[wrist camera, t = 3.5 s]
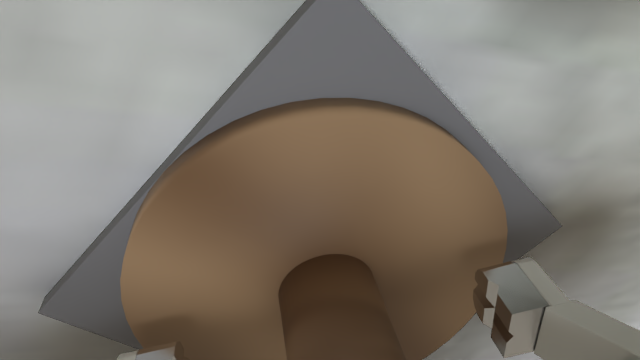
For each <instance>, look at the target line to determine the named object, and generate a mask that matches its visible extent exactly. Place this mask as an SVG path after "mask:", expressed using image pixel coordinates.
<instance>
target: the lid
mask: <svg viewBox="0 0 640 360" xmlns="http://www.w3.org/2000/svg"><path fill="white" fill-rule="evenodd" d="M507 232H508V229H507V219H506V211H505V208H504V205H503V201H502V198H501V195H500V193H499V191H498V189H497V187H496V185H495V183H494V181H493V179H492V178H491V176H490V175H489V174H488V172H487V171H486V170H485V169H484V167H483V166H482V165H481V164H480V162H479V161H478V160H477V159H476V158H475V157H474V156H473V155H472V154H471V153H470V152H469V151H468V150H467V149H466V147H465V146H464V145H463V144H462V143H461V142H459V141H458V140H457V139H456V138H455V137H454V136H453V135H452V134H450V133H449V132H448V131H447V130H446V129H444V128H443V127H441V126H439V125H438V124H436V123H435V122H433V121H431V120H430V119H428V118H427V117H424V116H422V115H420V114H417V113H415V112H413V111H410V110H408V109H405V108H403V107H399V106H395V105H391V104H387V103H384V102H380V101H373V100H365V99H357V98H318V99H310V100H303V101H295V102H289V103H286V104H282V105H278V106H274V107H270V108H266V109H263V110H260V111H257V112H255V113H252V114H250V115H247V116H244V117H242V118H239V119H237V120H234V121H232V122H230V123H229V124H227V125H225V126H223V127H221V128H219V129H218V130H216V131H214V132H212V133H210V134H208V135H207V136H205V137H204V138H203V139H201V140H200V141H198V142H197V143H196V144H194V145H193V146H192V147H190V148H189V149H188V150H186V151H185V152H183V153H182V154H181V155H180V156H179V157H178V158H177V159H176V160H175V161H174V162H173V163H172V164H171V165H170V166H169V167H168V168H167V169H166V170H165V171H164V172H163V173H162V175H161V176H160V177H159V179H158V180H157V181H156V182H155V184H154V185H153V186H152V188H151V189H150V190H149V192H148V193H147V195H146V197H145V199H144V201H143V203H142V204H141V206H140V208H139V210H138V212H137V215H136V218H135V220H134V223H133V226H132V229H131V232H130V236H129V240H128V243H127V247H126V251H125V255H124V258H123V264H122V271H121V278H120V286H121V301H122V305H123V309H124V312H125V316H126V320H127V322H128V324H129V326H130V328H131V330H132V332H133V334H134V336H135V337H136V339H137V340H138V341H139V343H140V344H141V345H142V347H143V348H149V347H154V346H159V345H163V344H168V343H173V342H178V341H180V342H181V344H182V346H183V347H184V357H187V358H189V359H190V360H422V359H424V358H425V357H427V356H428V355H430V354H431V353H433V352H434V351H436V350H437V349H438V348H439V347H441V346H442V345H443V344H445V343H446V342H447V341H448V340H450V339H451V338H452V337H453V336H454V335H455V334H456V333H457V332H458V331H459V330H460V329H462V328H463V327H464V326H465V324H466V323H467V322H468V321H469V320H470V319H471V318H472V317H473V315H474V314H475V313H476V309H475V306H474V302H473V290H474V289H475V288H476V286H477V285H478V284H477V282H476V281H475V272H476V271H477V270H478V269H481V268H485V267H489V266H493V265H497V264H501V263H503V260H504V255H505V251H506V245H507Z"/></svg>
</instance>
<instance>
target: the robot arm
mask: <svg viewBox="0 0 640 360" xmlns="http://www.w3.org/2000/svg"><path fill="white" fill-rule="evenodd" d="M475 281H476V282H477V284H478V285H477V286H476V288H475V289H474V290H473V302H474V306H475V309H476V312H477V314H478V316H479V318H480V320H481V321H482V323H483V324H485V325H486V326H488V327H490V328H492V333H491V338H492V340H493V341H494V343H495V345H496V346H497V348H498V349H499V351H500V353H501V354H502V356H503V358H507V357H511V356H515V355H520V354H524V353H529V352H533V351H534V353H535V354H536V355H538V356H539V357H541V358H542V359H543V360H640V331H639V330H637V329H635V328H633V327H631V326H629V325H626V324H624V323H622V322H620V321H618V320H616V319H614V318H612V317H610V316H608V315H605V314H603V313H601V312H599V311H597V310H595V309H593V308H591V307H589V306H587V305H584V304H582V303H580V302H578V301H576V300H573V301H569V299H568V298H567V297H566V296H565V295H564V294H563V293H562V291H561V290H560V289H559V288H558V287H557V286H556V284H555V283H554V282H553V281H552V280H551V279H550V277H549V276H548V275H547V274H546V273H545V272H544V270H543V269H542V268H541V267H540V266H539V265H538V264H537V262H536V261H535V260H534V259H532V258H531V257H527V258H523V259H519V260H515V261H509V262H505V263H501V264H497V265H493V266H489V267H485V268H481V269H478V270H477V271H476V272H475ZM116 360H190V359H189V358H187V357H184V347H183V346H182V344H181V342H180V341H178V342H173V343H168V344H163V345H159V346H154V347H149V348H144V349H140V350H135V351H131V352H127V353H122V354H119V356H118V357H117V359H116Z"/></svg>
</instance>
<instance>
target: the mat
mask: <svg viewBox="0 0 640 360" xmlns="http://www.w3.org/2000/svg"><path fill="white" fill-rule="evenodd" d="M318 98H357V99H365V100H373V101H380V102H384V103H387V104H391V105H395V106H399V107H403V108H405V109H408V110H410V111H413V112H415V113H417V114H420V115H422V116H424V117H427V118H428V119H430V120H431V121H433V122H435V123H436V124H438V125H439V126H441V127H443V128H444V129H446V130H447V131H448V132H449V133H450V134H452V135H453V136H454V137H455V138H456V139H457V140H458V141H459V142H461V143H462V144H463V145H464V146H465V147H466V149H467V150H468V151H469V152H470V153H471V154H472V155H473V156H474V157H475V158H476V159H477V160H478V161H479V162H480V164H481V165H482V166H483V167H484V169H485V170H486V171H487V172H488V174H489V175H490V176H491V178H492V179H493V181H494V183H495V185H496V187H497V189H498V191H499V193H500V195H501V198H502V201H503V205H504V208H505V211H506V219H507V229H508V232H507V245H506V251H505V255H504V260H503V263H505V262H509V261H515V260H517V259H519V258H520V257H521V256H523V255H524V254H525V253H527V252H528V251H529V250H531V249H532V248H533V247H535V246H536V245H537V244H539V243H540V242H542V241H543V240H544V239H546V238H547V237H548V236H550V235H551V234H552V233H554V232H555V231H556V230H558V229H559V228H560V227H562V225H561V224H560V223H559V222H558V221H557V219H556V218H555V217H554V216H553V215H552V214H551V213H550V212H549V211H548V209H547V208H546V207H545V206H544V205H543V204H542V203H541V202H540V201H539V199H538V198H537V197H536V196H535V195H534V194H533V193H532V192H531V191H530V190H529V188H528V187H527V186H526V185H525V184H524V183H523V182H522V181H521V180H520V178H519V177H518V176H517V175H516V174H515V173H514V172H513V171H512V170H511V168H510V167H509V166H508V165H507V164H506V163H505V162H504V161H503V160H502V158H501V157H500V156H499V155H498V154H497V153H496V152H495V151H494V150H493V149H492V147H491V146H490V145H489V144H488V143H487V142H486V141H485V140H484V139H483V137H482V136H481V135H480V134H479V133H478V132H477V131H476V130H475V129H474V127H473V126H472V125H471V124H470V123H469V122H468V121H467V120H466V119H465V117H464V116H463V115H462V114H461V113H460V112H459V111H458V110H457V109H456V108H455V106H454V105H453V104H452V103H451V102H450V101H449V100H448V99H447V98H446V96H445V95H444V94H443V93H442V92H441V91H440V90H439V89H438V88H437V86H436V85H435V84H434V83H433V82H432V81H431V80H430V79H429V78H428V77H427V75H426V74H425V73H424V72H423V71H422V70H421V69H420V68H419V67H418V65H417V64H416V63H415V62H414V61H413V60H412V59H411V58H410V57H409V55H408V54H407V53H406V52H405V51H404V50H403V49H402V48H401V47H400V45H399V44H398V43H397V42H396V41H395V40H394V39H393V38H392V37H391V36H390V34H389V33H388V32H387V31H386V30H385V29H384V28H383V27H382V26H381V24H380V23H379V22H378V21H377V20H376V19H375V18H374V17H373V16H372V14H371V13H370V12H369V11H368V10H367V9H366V8H365V7H364V6H363V4H362V3H361V2H360V1H359V0H306V1H305V2H304V3H303V5H302V6H301V7H300V8H299V9H298V10H297V11H296V13H295V14H294V15H293V16H292V17H291V18H290V19H289V20H288V22H287V23H286V24H285V25H284V26H283V27H282V28H281V30H280V31H279V32H278V33H277V34H276V35H275V36H274V38H273V39H272V40H271V41H270V42H269V43H268V44H267V45H266V47H265V48H264V49H263V50H262V51H261V52H260V53H259V55H258V56H257V57H256V58H255V59H254V60H253V61H252V63H251V64H250V65H249V66H248V67H247V68H246V69H245V70H244V72H243V73H242V74H241V75H240V76H239V77H238V78H237V80H236V81H235V82H234V83H233V84H232V85H231V86H230V88H229V89H228V90H227V91H226V92H225V93H224V94H223V95H222V97H221V98H220V99H219V100H218V101H217V102H216V103H215V105H214V106H213V107H212V108H211V109H210V110H209V111H208V113H207V114H206V115H205V116H204V117H203V118H202V119H201V120H200V122H199V123H198V124H197V125H196V126H195V127H194V128H193V130H192V131H191V132H190V133H189V134H188V135H187V136H186V137H185V139H184V140H183V141H182V142H181V143H180V144H179V145H178V147H177V148H176V149H175V150H174V151H173V152H172V153H171V155H170V156H169V157H168V158H167V159H166V160H165V161H164V162H163V164H162V165H161V166H160V167H159V168H158V169H157V170H156V172H155V173H154V174H153V175H152V176H151V177H150V178H149V180H148V181H147V182H146V183H145V184H144V185H143V186H142V187H141V189H140V190H139V191H138V192H137V193H136V194H135V195H134V197H133V198H132V199H131V200H130V201H129V202H128V203H127V205H126V206H125V207H124V208H123V209H122V210H121V211H120V212H119V214H118V215H117V216H116V217H115V218H114V219H113V220H112V222H111V223H110V224H109V225H108V226H107V227H106V228H105V230H104V231H103V232H102V233H101V234H100V235H99V236H98V237H97V239H96V240H95V241H94V242H93V243H92V244H91V245H90V247H89V248H88V249H87V250H86V251H85V252H84V253H83V254H82V256H81V257H80V258H79V259H78V260H77V261H76V262H75V264H74V265H73V266H72V267H71V268H70V269H69V270H68V272H67V273H66V274H65V275H64V276H63V277H62V278H61V279H60V281H59V282H58V283H57V284H56V285H55V286H54V287H53V289H52V290H51V291H50V292H49V293H48V294H47V295H46V297H45V298H44V301H43V303H42V305H41V308H40V310H39V312H38V313H39V314H42V315H45V316H48V317H50V318H53V319H56V320H59V321H61V322H64V323H67V324H70V325H73V326H75V327H78V328H81V329H84V330H86V331H89V332H92V333H95V334H98V335H100V336H103V337H106V338H109V339H112V340H114V341H117V342H120V343H123V344H125V345H128V346H131V347H134V348H137V349H139V350H140V349H144V348H143V347H142V345H141V344H140V343H139V341H138V340H137V339H136V337H135V336H134V334H133V332H132V330H131V328H130V326H129V324H128V322H127V320H126V316H125V312H124V309H123V305H122V301H121V286H120V278H121V271H122V264H123V258H124V255H125V251H126V247H127V243H128V240H129V236H130V232H131V229H132V226H133V223H134V220H135V218H136V215H137V212H138V210H139V208H140V206H141V204H142V203H143V201H144V199H145V197H146V195H147V193H148V192H149V190H150V189H151V188H152V186H153V185H154V184H155V182H156V181H157V180H158V179H159V177H160V176H161V175H162V173H163V172H164V171H165V170H166V169H167V168H168V167H169V166H170V165H171V164H172V163H173V162H174V161H175V160H176V159H177V158H178V157H179V156H180V155H181V154H182V153H183V152H185V151H186V150H188V149H189V148H190V147H192V146H193V145H194V144H196V143H197V142H198V141H200V140H201V139H203V138H204V137H205V136H207V135H208V134H210V133H212V132H214V131H216V130H218V129H219V128H221V127H223V126H225V125H227V124H229V123H230V122H232V121H234V120H237V119H239V118H242V117H244V116H247V115H250V114H252V113H255V112H257V111H260V110H263V109H266V108H270V107H274V106H278V105H282V104H286V103H289V102H295V101H303V100H310V99H318Z"/></svg>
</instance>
